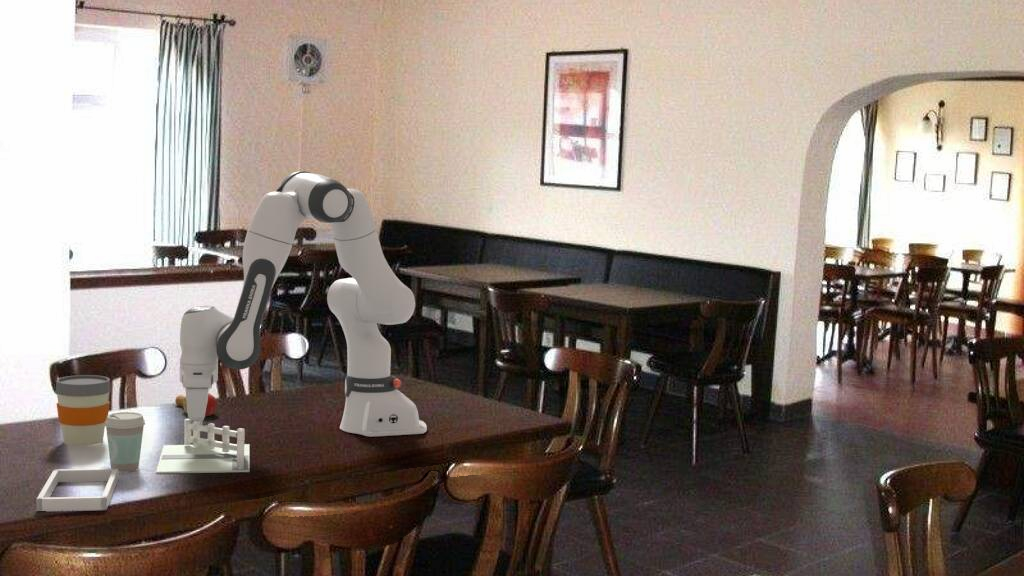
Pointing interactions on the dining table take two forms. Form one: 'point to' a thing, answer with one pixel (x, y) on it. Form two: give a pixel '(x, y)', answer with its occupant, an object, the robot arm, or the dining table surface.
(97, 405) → the reusable coffee cup
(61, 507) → the rim
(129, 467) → the coffee cup
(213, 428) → the white toy fence
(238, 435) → the fence fixed
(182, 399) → the kendama
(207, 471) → the card
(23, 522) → the dining table surface
